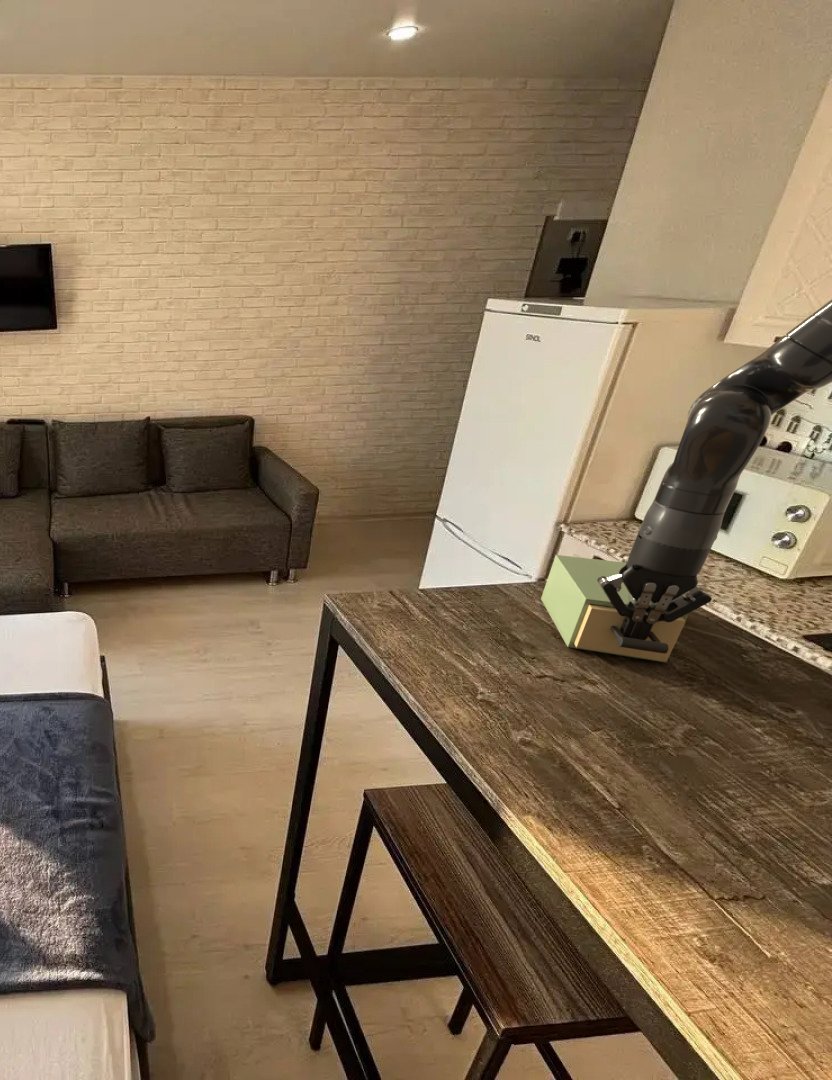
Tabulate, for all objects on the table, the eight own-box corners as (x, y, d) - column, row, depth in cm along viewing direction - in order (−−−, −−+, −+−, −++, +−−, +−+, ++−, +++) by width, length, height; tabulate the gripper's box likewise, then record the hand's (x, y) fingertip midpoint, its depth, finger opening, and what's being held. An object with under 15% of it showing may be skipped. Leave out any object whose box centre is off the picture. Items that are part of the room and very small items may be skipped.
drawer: (681, 681, 83) (702, 639, 80) (586, 665, 87) (602, 625, 83) (628, 612, 99) (643, 575, 96) (549, 601, 103) (562, 565, 100)
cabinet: (665, 662, 88) (689, 612, 84) (567, 647, 92) (586, 598, 88) (625, 610, 101) (644, 564, 97) (540, 598, 105) (555, 554, 101)
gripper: (722, 530, 80) (674, 634, 87) (606, 519, 84) (569, 619, 92) (754, 553, 74) (699, 663, 81) (627, 540, 78) (586, 645, 85)
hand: (630, 639), depth 86 cm, fingers closed
